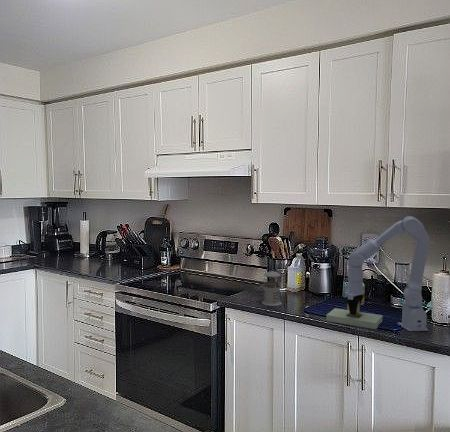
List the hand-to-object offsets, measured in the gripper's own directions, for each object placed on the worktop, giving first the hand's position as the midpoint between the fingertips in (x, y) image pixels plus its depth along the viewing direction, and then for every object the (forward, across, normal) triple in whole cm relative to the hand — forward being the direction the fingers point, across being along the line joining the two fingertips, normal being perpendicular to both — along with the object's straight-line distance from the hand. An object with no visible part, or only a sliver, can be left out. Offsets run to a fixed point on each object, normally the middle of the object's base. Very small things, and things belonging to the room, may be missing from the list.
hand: (354, 313), depth 178 cm
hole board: (+3, 0, 0) cm, 3 cm away
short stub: (+3, -11, -4) cm, 12 cm away
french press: (+4, -8, -41) cm, 42 cm away
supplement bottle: (+4, -28, -6) cm, 29 cm away
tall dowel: (+3, 0, 0) cm, 3 cm away
